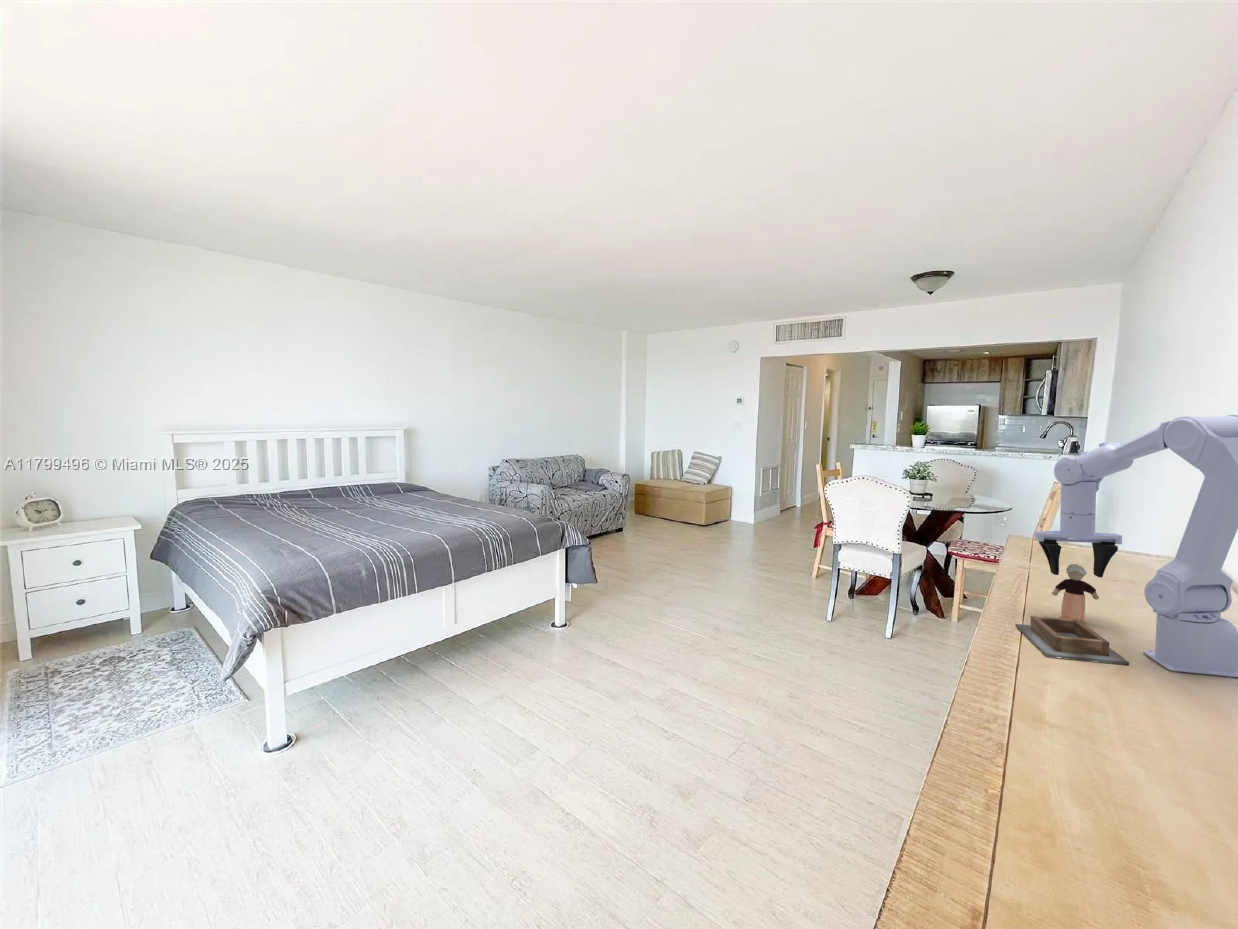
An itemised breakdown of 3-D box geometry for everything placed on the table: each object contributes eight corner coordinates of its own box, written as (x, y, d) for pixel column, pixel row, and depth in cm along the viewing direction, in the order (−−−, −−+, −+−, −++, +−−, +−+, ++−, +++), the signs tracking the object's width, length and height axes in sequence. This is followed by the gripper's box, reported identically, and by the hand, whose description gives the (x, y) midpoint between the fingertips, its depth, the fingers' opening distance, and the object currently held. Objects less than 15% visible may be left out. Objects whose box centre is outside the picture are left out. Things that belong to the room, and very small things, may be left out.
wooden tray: (1084, 632, 108) (1085, 617, 108) (1128, 665, 93) (1129, 648, 93) (1015, 626, 112) (1015, 612, 112) (1046, 657, 97) (1047, 640, 97)
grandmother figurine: (1056, 622, 114) (1058, 565, 113) (1049, 616, 118) (1051, 560, 117) (1101, 626, 111) (1103, 567, 110) (1093, 620, 115) (1094, 563, 114)
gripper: (1110, 511, 114) (1108, 572, 115) (1029, 509, 119) (1028, 568, 120) (1128, 516, 107) (1126, 581, 108) (1042, 514, 113) (1041, 576, 113)
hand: (1076, 575), depth 114 cm, fingers open, 7 cm apart
